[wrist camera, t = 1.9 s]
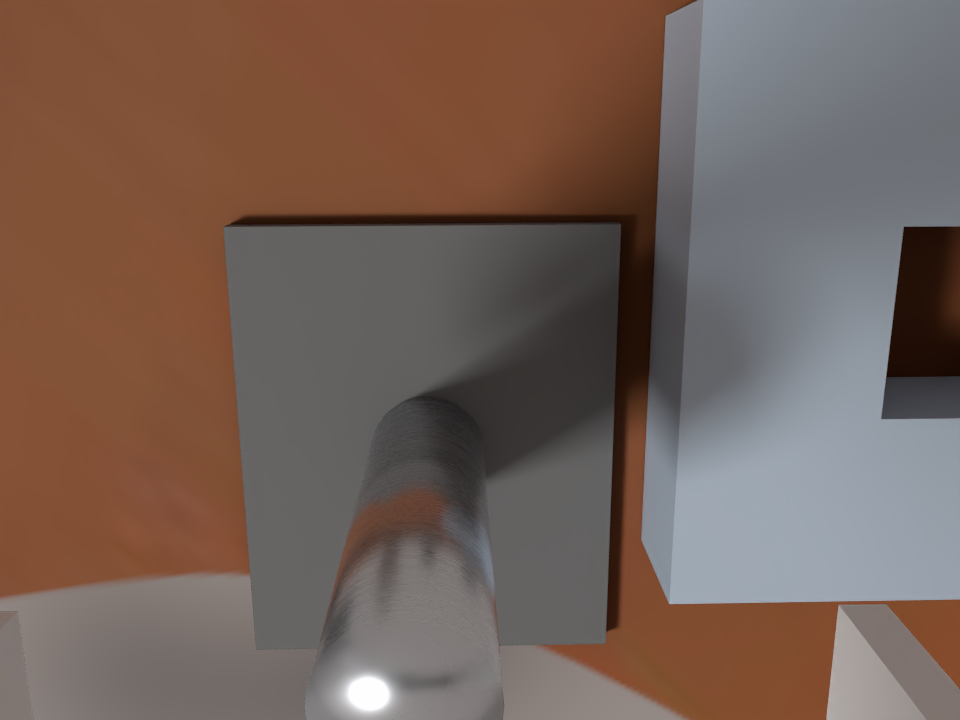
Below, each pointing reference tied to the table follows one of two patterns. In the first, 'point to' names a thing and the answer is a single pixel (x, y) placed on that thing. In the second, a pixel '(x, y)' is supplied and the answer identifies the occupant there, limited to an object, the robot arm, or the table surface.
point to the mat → (434, 373)
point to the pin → (414, 580)
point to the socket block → (800, 304)
